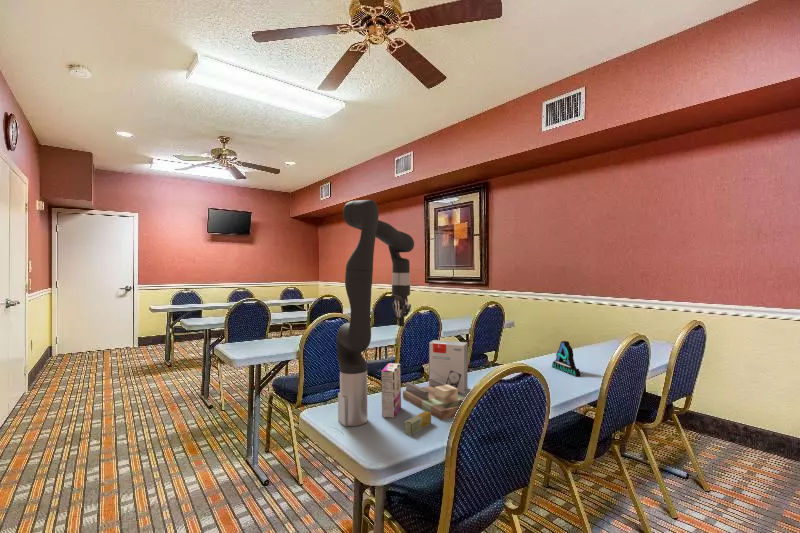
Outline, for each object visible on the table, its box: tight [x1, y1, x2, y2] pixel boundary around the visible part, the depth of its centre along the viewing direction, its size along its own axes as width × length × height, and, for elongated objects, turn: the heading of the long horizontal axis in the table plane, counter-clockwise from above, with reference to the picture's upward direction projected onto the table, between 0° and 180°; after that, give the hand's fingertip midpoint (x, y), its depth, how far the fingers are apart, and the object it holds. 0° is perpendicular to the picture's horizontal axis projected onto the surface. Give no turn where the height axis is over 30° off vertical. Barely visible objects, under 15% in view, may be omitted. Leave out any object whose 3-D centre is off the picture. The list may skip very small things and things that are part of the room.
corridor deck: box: [402, 378, 466, 421], centre depth 152 cm, size 16×26×6 cm, turn 29°
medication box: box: [404, 410, 432, 436], centre depth 130 cm, size 12×3×4 cm, turn 144°
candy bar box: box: [380, 362, 402, 419], centre depth 144 cm, size 11×5×16 cm, turn 168°
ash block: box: [435, 385, 459, 404], centre depth 148 cm, size 6×6×4 cm
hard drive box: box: [428, 339, 469, 394], centre depth 171 cm, size 16×8×20 cm, turn 68°
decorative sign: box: [551, 340, 582, 378], centre depth 197 cm, size 19×2×15 cm, turn 14°
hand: (401, 326), depth 164 cm, fingers closed
